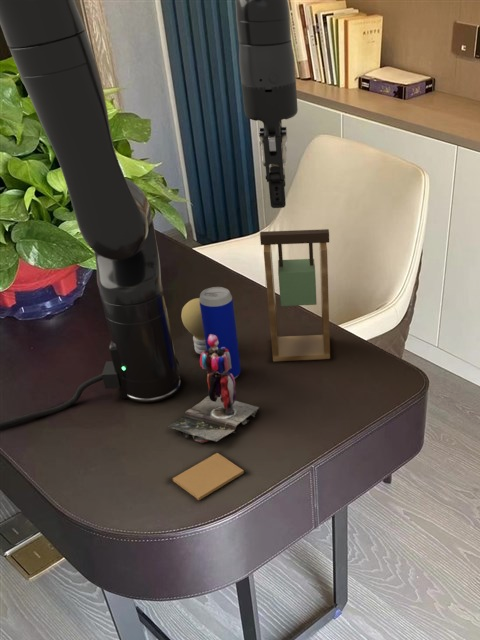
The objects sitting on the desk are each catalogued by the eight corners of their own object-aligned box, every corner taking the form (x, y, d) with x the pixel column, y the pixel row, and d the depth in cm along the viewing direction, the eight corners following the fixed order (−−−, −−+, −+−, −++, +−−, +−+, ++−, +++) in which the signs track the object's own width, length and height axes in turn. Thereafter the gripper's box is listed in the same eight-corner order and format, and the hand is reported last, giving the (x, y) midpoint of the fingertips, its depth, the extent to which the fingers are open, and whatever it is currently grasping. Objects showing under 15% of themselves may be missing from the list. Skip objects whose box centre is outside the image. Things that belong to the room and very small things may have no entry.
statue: (212, 404, 118) (205, 317, 110) (259, 419, 115) (256, 330, 107) (167, 432, 110) (157, 341, 102) (217, 449, 107) (210, 356, 98)
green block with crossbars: (265, 307, 121) (259, 239, 113) (266, 293, 124) (260, 227, 117) (331, 304, 121) (329, 237, 114) (329, 290, 125) (328, 225, 118)
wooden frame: (273, 361, 126) (263, 251, 114) (273, 341, 132) (264, 234, 119) (330, 359, 127) (327, 249, 114) (328, 339, 132) (324, 232, 119)
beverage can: (244, 367, 125) (234, 286, 115) (237, 383, 121) (227, 301, 111) (214, 365, 125) (203, 285, 116) (207, 382, 121) (194, 300, 112)
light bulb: (231, 348, 130) (224, 297, 123) (207, 364, 126) (199, 312, 119) (204, 339, 132) (196, 288, 126) (180, 354, 128) (171, 303, 122)
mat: (199, 500, 98) (198, 497, 98) (172, 481, 102) (172, 478, 101) (244, 473, 103) (243, 470, 103) (217, 455, 106) (217, 452, 106)
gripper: (243, 68, 105) (255, 182, 115) (238, 91, 94) (252, 215, 104) (294, 66, 105) (302, 180, 115) (296, 89, 94) (304, 213, 104)
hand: (278, 196), depth 110 cm, fingers open, 8 cm apart
